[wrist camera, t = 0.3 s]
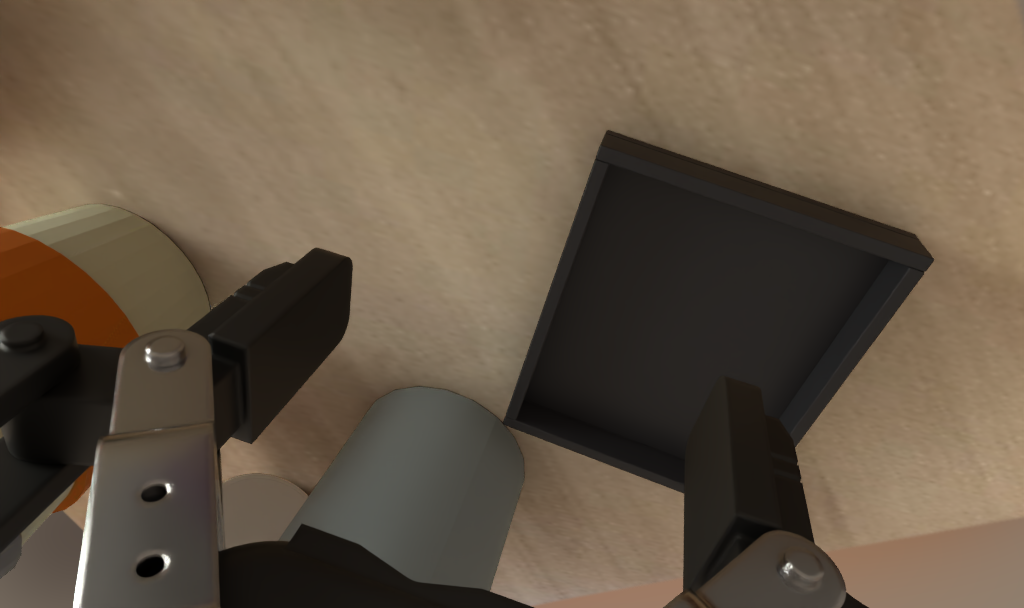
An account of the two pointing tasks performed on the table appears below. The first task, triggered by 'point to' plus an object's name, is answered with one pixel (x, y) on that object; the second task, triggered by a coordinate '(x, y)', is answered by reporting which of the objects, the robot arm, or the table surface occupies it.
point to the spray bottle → (423, 488)
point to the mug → (258, 508)
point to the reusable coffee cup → (94, 292)
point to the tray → (700, 307)
